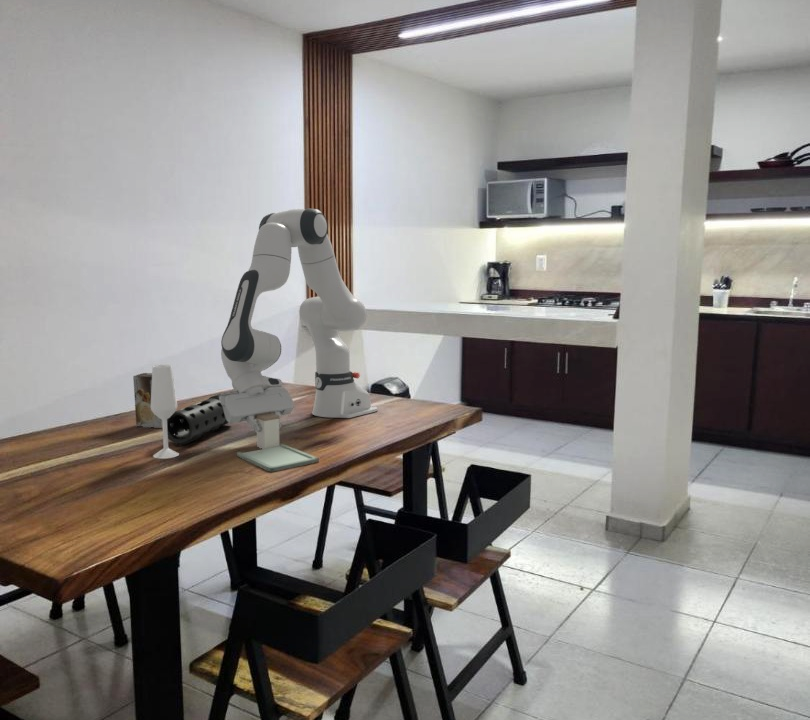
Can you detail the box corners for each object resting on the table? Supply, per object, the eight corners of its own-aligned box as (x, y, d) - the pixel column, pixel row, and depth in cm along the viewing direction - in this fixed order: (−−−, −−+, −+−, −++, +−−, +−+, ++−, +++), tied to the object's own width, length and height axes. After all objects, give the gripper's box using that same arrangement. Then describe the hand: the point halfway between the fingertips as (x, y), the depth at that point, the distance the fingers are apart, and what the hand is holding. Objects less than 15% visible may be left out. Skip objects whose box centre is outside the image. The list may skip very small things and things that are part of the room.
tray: (283, 447, 201) (283, 444, 201) (318, 461, 187) (318, 458, 187) (236, 456, 192) (236, 452, 192) (270, 472, 178) (270, 468, 178)
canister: (271, 444, 204) (270, 412, 203) (280, 447, 201) (279, 415, 199) (256, 446, 201) (255, 415, 200) (264, 450, 198) (264, 418, 196)
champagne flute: (178, 450, 197) (174, 363, 194) (180, 457, 191) (176, 367, 187) (152, 452, 195) (148, 364, 191) (153, 459, 189) (148, 368, 185)
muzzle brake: (162, 446, 202) (161, 410, 201) (213, 423, 229) (212, 391, 227) (193, 448, 200) (192, 412, 198) (240, 425, 227) (239, 393, 225)
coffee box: (172, 424, 228) (170, 373, 226) (161, 428, 222) (159, 377, 219) (146, 422, 230) (144, 372, 228) (134, 426, 224) (132, 375, 222)
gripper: (220, 386, 197) (237, 428, 191) (285, 378, 210) (304, 417, 204) (213, 400, 201) (230, 441, 195) (278, 391, 214) (296, 430, 208)
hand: (269, 429), depth 200 cm, fingers closed on canister, 4 cm apart
